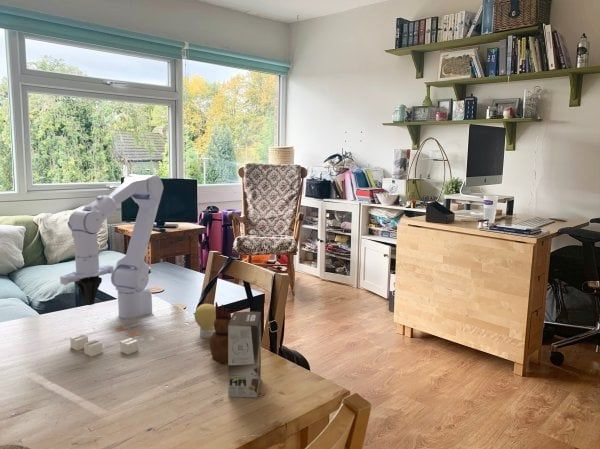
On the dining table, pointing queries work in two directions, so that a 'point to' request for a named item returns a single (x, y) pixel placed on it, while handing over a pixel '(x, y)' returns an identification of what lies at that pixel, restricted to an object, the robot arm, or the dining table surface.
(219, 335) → the wooden figurine
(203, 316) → the light bulb
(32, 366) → the dining table surface
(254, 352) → the coffee box
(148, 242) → the robot arm
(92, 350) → the slider middle
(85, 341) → the slider
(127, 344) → the slider
